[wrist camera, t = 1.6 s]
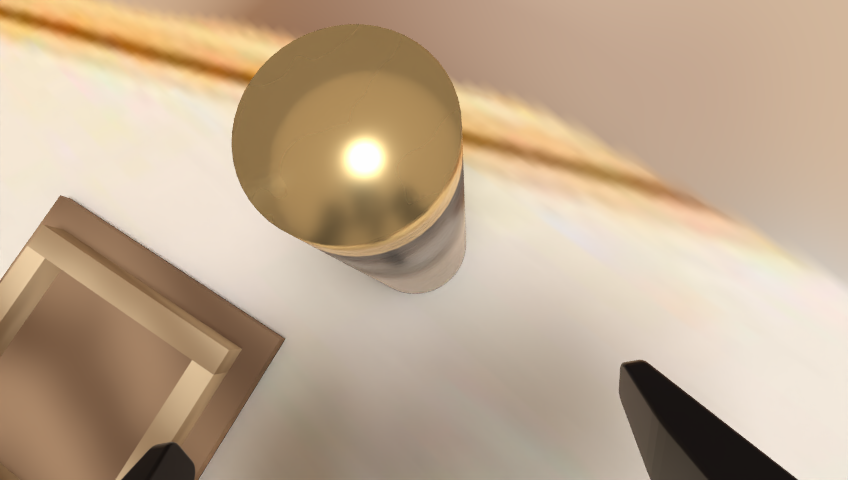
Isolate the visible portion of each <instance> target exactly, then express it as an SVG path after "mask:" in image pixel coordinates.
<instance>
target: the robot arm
mask: <svg viewBox="0 0 848 480" xmlns="http://www.w3.org/2000/svg"><path fill="white" fill-rule="evenodd" d="M619 395H620V399H621V402H622V405H623V407H624V410H625V413H626V416H627V418H628V421H629V424H630V426H631V429H632V432H633V434H634V437H635V440H636V442H637V445H638V448H639V451H640V453H641V456H642V459H643V461H644V464H645V467H646V469H647V472H648V474H649V477H650V479H651V480H798V479H796V478H795V477H794V476H792V475H791V474H790V473H789V472H787V471H786V470H785V469H783V468H782V467H781V466H780V465H778V464H777V463H776V462H775V461H773V460H772V459H771V458H769V457H768V456H767V455H766V454H764V453H763V452H762V451H760V450H759V449H758V448H757V447H755V446H754V445H753V444H751V443H750V442H749V441H748V440H746V439H745V438H744V437H742V436H741V435H740V434H739V433H737V432H736V431H735V430H733V429H732V428H731V427H730V426H728V425H727V424H726V423H724V422H723V421H722V420H721V419H719V418H718V417H717V416H715V415H714V414H713V413H712V412H710V411H709V410H708V409H706V408H705V407H704V406H703V405H701V404H700V403H699V402H697V401H696V400H695V399H694V398H692V397H691V396H690V395H688V394H687V393H686V392H685V391H683V390H682V389H681V388H679V387H678V386H677V385H676V384H674V383H673V382H672V381H671V380H669V379H668V378H667V377H665V376H664V375H663V374H662V373H660V372H659V371H658V370H656V369H655V368H654V367H653V366H651V365H650V364H649V363H647V362H646V361H643V360H635V361H629V362H624V363H622V365H621V367H620V380H619ZM121 480H195V465H194V463H193V461H192V460H191V459H190V457H189V456H188V455H187V454H186V453H185V452H184V450H183V449H182V448H181V447H180V446H179V445H178V444H177V443H176V442H167V443H161V444H157V445H154V446H152V447H151V448H150V449H149V450H148V451H147V452H146V453H145V454H144V455H143V456H142V457H141V459H140V460H139V461H138V462H137V463H136V464H135V465H134V466H133V467H132V468H131V469H130V470H129V472H128V473H127V474H126V475H125V476H124V477H123V478H122V479H121Z"/></svg>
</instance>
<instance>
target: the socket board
mask: <svg viewBox="0 0 848 480" xmlns="http://www.w3.org/2000/svg"><path fill="white" fill-rule="evenodd" d="M284 340H285V339H284V338H283V337H281V336H280V335H278V334H277V333H275V332H274V331H272V330H271V329H269V328H268V327H266V326H265V325H263V324H262V323H260V322H258V321H257V320H255V319H254V318H252V317H251V316H249V315H248V314H246V313H245V312H243V311H242V310H240V309H239V308H237V307H235V306H234V305H232V304H231V303H229V302H228V301H226V300H225V299H223V298H222V297H220V296H219V295H217V294H216V293H214V292H212V291H211V290H209V289H208V288H206V287H205V286H203V285H202V284H200V283H199V282H197V281H196V280H194V279H193V278H191V277H189V276H188V275H186V274H185V273H183V272H182V271H180V270H179V269H177V268H176V267H174V266H173V265H171V264H170V263H168V262H167V261H165V260H163V259H162V258H160V257H159V256H157V255H156V254H154V253H153V252H151V251H150V250H148V249H147V248H145V247H144V246H142V245H140V244H139V243H137V242H136V241H134V240H133V239H131V238H130V237H128V236H127V235H125V234H124V233H122V232H121V231H119V230H117V229H116V228H114V227H113V226H111V225H110V224H108V223H107V222H105V221H104V220H102V219H101V218H99V217H98V216H96V215H94V214H93V213H91V212H90V211H88V210H87V209H85V208H84V207H82V206H81V205H79V204H78V203H76V202H75V201H73V200H72V199H70V198H67V197H64V196H61V195H60V197H59V198H58V200H57V201H56V202H55V204H54V205H53V207H52V208H51V209H50V211H49V212H48V214H47V215H46V216H45V218H44V219H43V221H42V222H41V224H40V225H39V226H38V228H37V229H36V231H35V232H34V233H33V235H32V236H31V238H30V239H29V240H28V242H27V243H26V245H25V246H24V248H23V249H22V250H21V252H20V253H19V255H18V256H17V257H16V259H15V260H14V262H13V263H12V264H11V266H10V267H9V269H8V270H7V271H6V273H5V274H4V276H3V277H2V279H1V280H0V480H121V479H122V478H123V477H124V476H125V475H126V474H127V473H128V472H129V470H130V469H131V468H132V467H133V466H134V465H135V464H136V463H137V462H138V461H139V460H140V459H141V457H142V456H143V455H144V454H145V453H146V452H147V451H148V450H149V449H150V448H151V447H152V446H154V445H157V444H161V443H167V442H176V443H177V444H178V445H179V446H180V447H181V448H182V449H183V450H184V452H185V453H186V454H187V455H188V456H189V457H190V459H191V460H192V461H193V463H194V465H195V480H198V479H199V477H200V476H201V474H202V472H203V471H204V469H205V468H206V466H207V464H208V463H209V461H210V460H211V458H212V456H213V455H214V453H215V451H216V450H217V448H218V447H219V445H220V443H221V442H222V440H223V439H224V437H225V435H226V434H227V432H228V430H229V429H230V427H231V426H232V424H233V422H234V421H235V419H236V418H237V416H238V414H239V413H240V411H241V409H242V408H243V406H244V405H245V403H246V401H247V400H248V398H249V397H250V395H251V393H252V392H253V390H254V388H255V387H256V385H257V384H258V382H259V380H260V379H261V377H262V376H263V374H264V372H265V371H266V369H267V367H268V366H269V364H270V363H271V361H272V359H273V358H274V356H275V354H276V353H277V351H278V350H279V348H280V346H281V345H282V343H283V342H284Z"/></svg>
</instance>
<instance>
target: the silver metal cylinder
mask: <svg viewBox="0 0 848 480" xmlns="http://www.w3.org/2000/svg"><path fill="white" fill-rule="evenodd" d="M232 154H233V162H234V166H235V170H236V174H237V177H238V179H239V181H240V184H241V186H242V188H243V190H244V192H245V194H246V195H247V197H248V199H249V200H250V202H251V203H252V204H253V205H254V207H255V208H256V209H257V210H258V211H259V212H260V213H261V214H262V215H263V216H264V217H265V218H266V219H267V220H268V221H269V222H271V223H272V224H274V225H275V226H277V227H278V228H279V229H281V230H283V231H285V232H287V233H289V234H290V235H292V236H294V237H296V238H298V239H300V240H302V241H304V242H306V243H307V244H309V245H311V246H313V247H315V248H317V249H319V250H321V251H323V252H325V253H326V254H328V255H330V256H332V257H334V258H336V259H338V260H340V261H342V262H344V263H345V264H347V265H349V266H351V267H353V268H355V269H357V270H359V271H361V272H363V273H364V274H366V275H368V276H370V277H372V278H374V279H376V280H378V281H380V282H382V283H383V284H385V285H387V286H389V287H391V288H393V289H395V290H398V291H401V292H405V293H412V294H418V293H425V292H429V291H432V290H435V289H437V288H439V287H441V286H442V285H444V284H445V283H447V282H448V281H449V280H450V279H451V278H452V277H453V276H454V275H455V274H456V272H457V271H458V269H459V268H460V266H461V264H462V261H463V258H464V255H465V250H466V230H465V201H464V173H463V145H462V122H461V110H460V106H459V101H458V97H457V94H456V92H455V89H454V86H453V84H452V82H451V80H450V78H449V76H448V75H447V73H446V71H445V70H444V69H443V67H442V66H441V65H440V63H439V62H438V61H437V60H436V59H435V58H434V57H433V56H432V55H431V54H430V53H429V51H427V50H426V49H425V48H424V47H422V46H421V45H420V44H418V43H417V42H415V41H413V40H412V39H410V38H408V37H406V36H405V35H402V34H400V33H397V32H395V31H392V30H389V29H386V28H381V27H378V26H371V25H359V24H353V25H352V24H349V25H339V26H333V27H328V28H324V29H320V30H317V31H314V32H312V33H309V34H306V35H304V36H302V37H300V38H298V39H296V40H294V41H292V42H291V43H289V44H288V45H286V46H285V47H283V48H282V49H280V50H279V51H278V52H277V53H275V54H274V55H273V56H272V57H271V58H270V59H269V60H268V61H267V62H266V63H265V64H264V65H263V66H262V67H261V68H260V69H259V70H258V72H257V73H256V74H255V76H254V77H253V78H252V80H251V81H250V83H249V85H248V86H247V88H246V90H245V91H244V93H243V96H242V98H241V100H240V103H239V105H238V108H237V112H236V115H235V118H234V124H233V130H232Z"/></svg>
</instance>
